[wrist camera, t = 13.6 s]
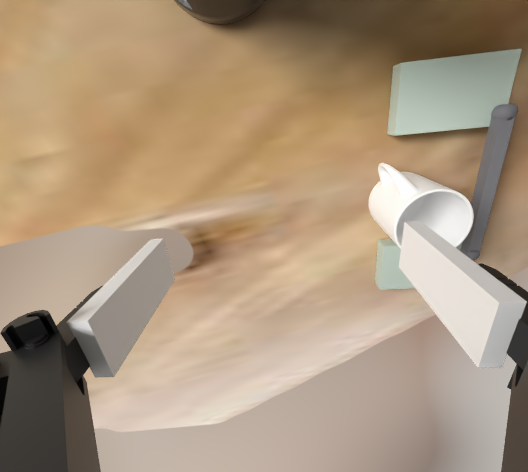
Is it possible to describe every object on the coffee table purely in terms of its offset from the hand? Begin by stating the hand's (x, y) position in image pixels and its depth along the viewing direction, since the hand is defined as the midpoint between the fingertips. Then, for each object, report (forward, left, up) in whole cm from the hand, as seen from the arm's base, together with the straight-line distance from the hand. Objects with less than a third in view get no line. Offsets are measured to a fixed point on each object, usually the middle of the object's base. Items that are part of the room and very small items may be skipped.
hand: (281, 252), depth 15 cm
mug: (+5, +16, -27) cm, 32 cm away
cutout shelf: (+5, +21, -27) cm, 34 cm away
